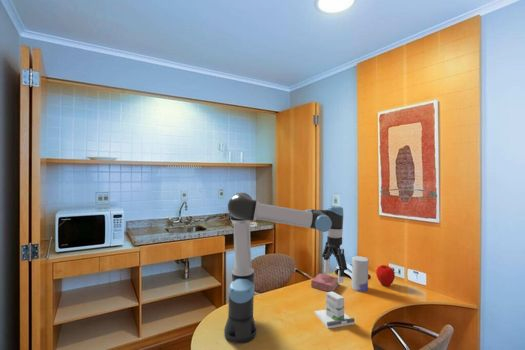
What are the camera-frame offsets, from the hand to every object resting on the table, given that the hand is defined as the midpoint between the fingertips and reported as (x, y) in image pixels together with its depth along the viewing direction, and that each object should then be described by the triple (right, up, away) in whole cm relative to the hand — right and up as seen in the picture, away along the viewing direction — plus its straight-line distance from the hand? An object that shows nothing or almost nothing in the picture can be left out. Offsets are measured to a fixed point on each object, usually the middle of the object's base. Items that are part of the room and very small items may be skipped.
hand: (333, 276), depth 137 cm
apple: (+46, -22, +42) cm, 67 cm away
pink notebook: (+5, -22, +39) cm, 45 cm away
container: (+27, -22, +37) cm, 51 cm away
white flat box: (+1, -22, +1) cm, 22 cm away
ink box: (+1, -21, 0) cm, 21 cm away
